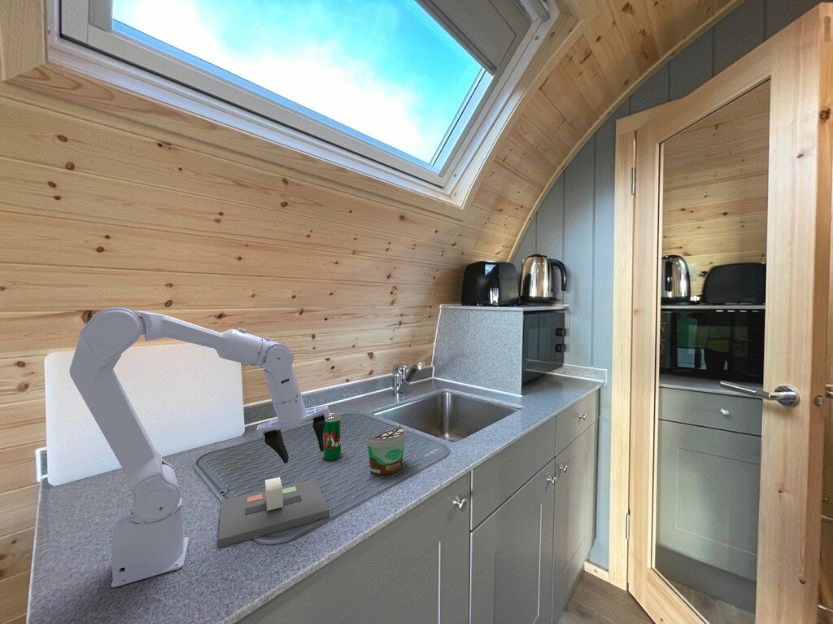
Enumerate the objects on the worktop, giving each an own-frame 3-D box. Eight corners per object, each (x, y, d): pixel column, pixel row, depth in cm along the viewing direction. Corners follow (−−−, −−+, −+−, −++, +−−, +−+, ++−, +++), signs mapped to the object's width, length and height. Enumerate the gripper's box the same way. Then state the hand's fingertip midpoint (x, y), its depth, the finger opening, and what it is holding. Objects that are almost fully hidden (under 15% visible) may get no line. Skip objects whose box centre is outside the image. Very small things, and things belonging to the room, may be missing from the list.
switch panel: (218, 547, 64) (218, 539, 64) (221, 507, 77) (221, 499, 77) (329, 516, 73) (329, 509, 73) (316, 484, 86) (315, 478, 86)
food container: (382, 484, 86) (381, 443, 85) (365, 475, 90) (365, 437, 89) (416, 466, 95) (416, 429, 94) (400, 459, 99) (400, 424, 99)
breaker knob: (267, 510, 72) (266, 491, 72) (265, 498, 76) (265, 480, 76) (282, 506, 73) (282, 487, 73) (280, 494, 78) (279, 477, 78)
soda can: (334, 451, 104) (333, 411, 103) (345, 456, 101) (344, 415, 100) (319, 457, 100) (318, 415, 100) (330, 463, 97) (329, 419, 96)
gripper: (322, 381, 79) (337, 435, 82) (254, 400, 76) (273, 455, 79) (321, 392, 72) (338, 451, 75) (247, 414, 69) (267, 474, 72)
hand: (304, 454), depth 76 cm, fingers open, 7 cm apart
